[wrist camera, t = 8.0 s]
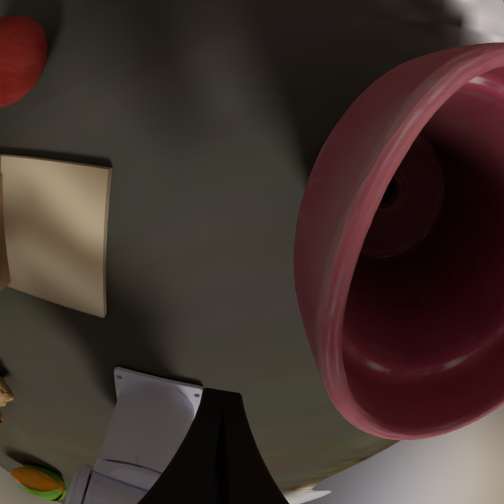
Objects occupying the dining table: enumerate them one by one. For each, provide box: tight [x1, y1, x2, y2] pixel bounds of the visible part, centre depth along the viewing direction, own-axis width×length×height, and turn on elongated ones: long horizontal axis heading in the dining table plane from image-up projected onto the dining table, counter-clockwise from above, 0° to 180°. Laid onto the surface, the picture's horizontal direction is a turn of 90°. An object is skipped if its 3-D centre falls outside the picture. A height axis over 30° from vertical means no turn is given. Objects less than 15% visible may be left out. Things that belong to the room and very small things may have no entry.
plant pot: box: [294, 43, 504, 440], centre depth 12 cm, size 14×14×13 cm
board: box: [0, 154, 113, 318], centre depth 18 cm, size 11×19×1 cm, turn 77°
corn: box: [12, 464, 67, 501], centre depth 36 cm, size 7×8×20 cm
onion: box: [0, 15, 48, 108], centre depth 10 cm, size 6×6×8 cm
